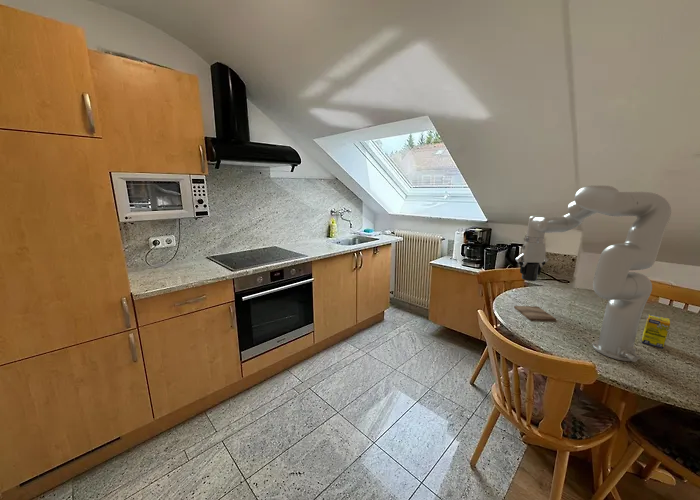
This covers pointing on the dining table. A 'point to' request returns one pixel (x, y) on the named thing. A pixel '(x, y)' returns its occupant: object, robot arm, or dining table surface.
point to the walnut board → (534, 313)
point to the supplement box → (655, 331)
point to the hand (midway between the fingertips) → (529, 273)
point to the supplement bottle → (531, 272)
